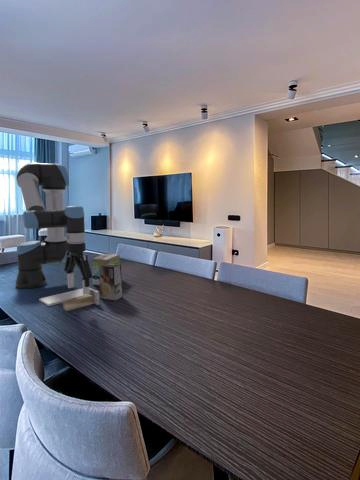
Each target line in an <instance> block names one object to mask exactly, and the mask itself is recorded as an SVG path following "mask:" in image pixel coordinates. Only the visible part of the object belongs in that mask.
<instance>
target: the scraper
mask: <svg viewBox="0 0 360 480" xmlns="http://www.w3.org/2000/svg"><path fill="white" fill-rule="evenodd" d="M93 304H94V305H96V306H98V305H99V306H100V290H96V289H93V288H91V287H90V293H89V294H87V295H83V296H79V297H75V298H71V299H67V300H63V303H62V309H63V311H66V312H69V311H72V310H76V309H79V308H83V307H86V306H90V305H93Z"/></svg>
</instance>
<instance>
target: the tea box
mask: <svg viewBox="0 0 360 480" xmlns="http://www.w3.org/2000/svg"><path fill="white" fill-rule="evenodd" d="M120 262H121V261H120V254H115V253H114V254H113V253H110V254H109V253H103V254H100V255H98V256H96V257H94V258H93V257H92V265H91V266H92V271H91V273H92V285H95V286H99V267H98V266H99V265H101V264H104V263H112V264H121V263H120Z"/></svg>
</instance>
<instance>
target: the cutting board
mask: <svg viewBox="0 0 360 480" xmlns="http://www.w3.org/2000/svg"><path fill="white" fill-rule="evenodd" d="M85 295H87V294H85ZM79 296H83V287H82V288H78V289H74V290H71V291H70V290H69V291H67V292H62V293H57V294H53V295H49V296H44V297H41V298H39V299H38V300H39V302H41V303H42V304H44V305H46V306H47V307H52V306H55V305H58V304H63V300H67V299H71V298H75V297H79Z"/></svg>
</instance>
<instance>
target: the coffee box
mask: <svg viewBox="0 0 360 480" xmlns="http://www.w3.org/2000/svg"><path fill="white" fill-rule="evenodd" d="M98 267H99V285H98V286H99V289H98V290H99V299H102V300H103V299H104V300H111V301H117V300H119V299H120V298H122V297H123V287H122V286H123V285H122V283H123V281H122V264H121V263H120V264H112V263H104V264H101V265H99V266H98Z"/></svg>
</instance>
